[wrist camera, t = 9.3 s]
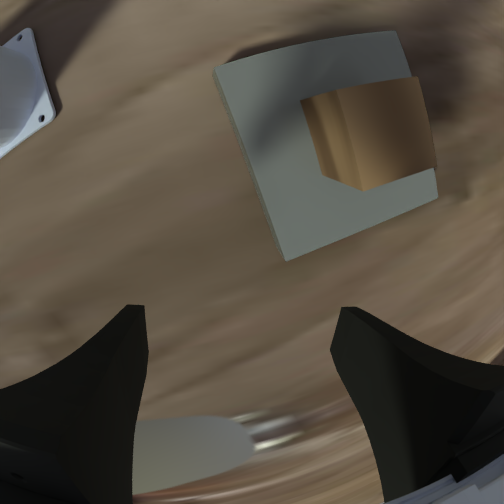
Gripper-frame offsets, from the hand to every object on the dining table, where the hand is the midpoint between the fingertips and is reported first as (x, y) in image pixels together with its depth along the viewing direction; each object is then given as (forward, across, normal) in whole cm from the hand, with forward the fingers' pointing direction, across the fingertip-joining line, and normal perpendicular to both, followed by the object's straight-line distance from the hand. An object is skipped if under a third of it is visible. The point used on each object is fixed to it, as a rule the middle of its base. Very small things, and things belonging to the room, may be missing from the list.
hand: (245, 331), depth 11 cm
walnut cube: (+8, -6, -8) cm, 13 cm away
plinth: (+10, -6, -8) cm, 14 cm away
